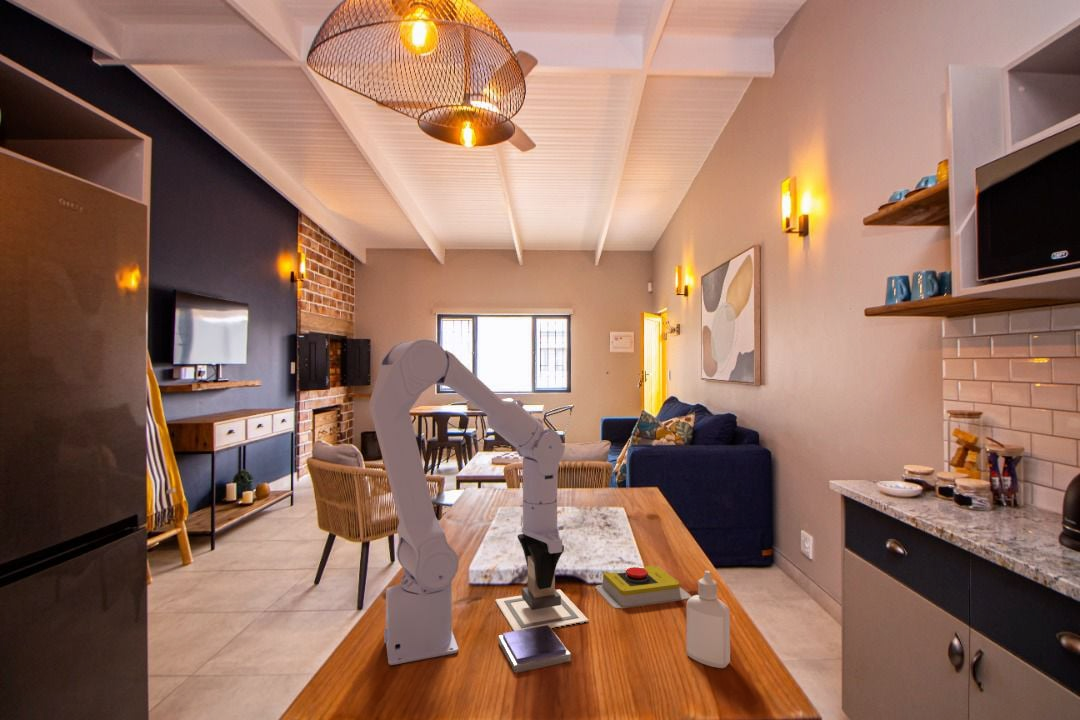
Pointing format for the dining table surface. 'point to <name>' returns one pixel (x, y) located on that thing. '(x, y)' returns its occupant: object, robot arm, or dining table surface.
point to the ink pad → (533, 648)
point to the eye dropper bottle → (708, 626)
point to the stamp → (539, 591)
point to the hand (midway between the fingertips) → (540, 582)
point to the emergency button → (640, 587)
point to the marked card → (539, 613)
